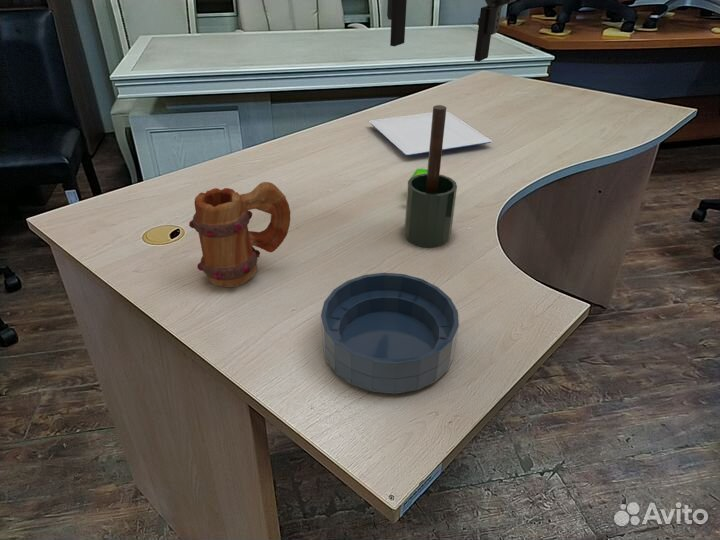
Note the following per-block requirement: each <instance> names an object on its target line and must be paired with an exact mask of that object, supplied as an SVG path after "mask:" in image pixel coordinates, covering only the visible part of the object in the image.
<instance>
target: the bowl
mask: <svg viewBox="0 0 720 540" xmlns="http://www.w3.org/2000/svg"><path fill="white" fill-rule="evenodd" d="M459 322H460V321H459V310H458V309H457V307H456V305H455V304H454V302H453V300H452V298H451V297H450V296H449V295H448V294H447V293H445V292H444V291H443V290H442V289H441V288H439V287H438V286H437V285H435V284H433V283H431V282H430V281H427V280H425V279H423V278H420V277H416V276H412V275H408V274H405V273H395V272H378V273H370V274H362V275H361V276H358V277H354V278H351V279H348V280H346V281H345V282H343V283H341V284H340V285H339V286H337V287H336V288H334V289H333V290H332V291H331V293H330V294H329V295H328V296H327V297H326V299H325V300H324V301H323V305H322V308H321V313H320V326H321V346H322V352H323V356H324V358H325V361H326V362H327V363H328V365H329V366H330V368H331V369H332V371H333V372H334V373H335V374H336V375H337V376H339V377H340V378H341V379H342V380H344V381H346V382H347V383H348V384H350V385H352V386H354V387H357V388H361V389H363V390H366V391H369V392H373V393H382V394H391V395H392V394H393V395H395V394H403V393H408V392H409V393H410V392H415V391H419V390H421V389H423V388H426V387H428V386H430V385H431V384H434V383H436V382H437V381H438V380H439V379H440V378H441V377H442V376H443V375H444V374H445V373H446V372H448V370H449V368H450V366H451V364H452V361H453V359H454V357H455V353H456V345H457V340H458V334H459V327H460V323H459Z"/></svg>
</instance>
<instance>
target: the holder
mask: <svg viewBox="0 0 720 540" xmlns="http://www.w3.org/2000/svg"><path fill="white" fill-rule="evenodd" d="M409 179H410V180H409ZM409 179H408V180H407V189H406V202H405V204H406V205H405V216H404V217H405V219H404V238H405V239H406V241H408V242H409V243H411V244H412V245H414V246H416V247H420V248H427V249H428V248H429V249H430V248H431V249H433V248H439V247H442V246H445V245H447V243H449V241H451V240H450V239H451V235H452V231H453V230H452V229H453V222H454V214H455V206H456V199H457V198H456V197H457V191H458V184H457V181H455V180H454V179H453V178H451V177H449V176H446V175H443V174H439V184H438V193H437V194H429V193H425V192H426V181H427V173H426V174H420V175H416V176H414V177H412V176H410V177H409Z"/></svg>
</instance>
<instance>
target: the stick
mask: <svg viewBox="0 0 720 540" xmlns="http://www.w3.org/2000/svg"><path fill="white" fill-rule="evenodd" d="M446 111H447V106H445V105H442V104H441V105H440V104H436V105H433V107H432V112H433V115H432V126H431V137H430V148H429V153H428V161H427V169H426V170H427V181H426V192H425V193H429V194H437V193H438V184H439V175H441V174H440V173H441V164H442V154H443V150H442V146H443V137H444V127H445V118H446Z"/></svg>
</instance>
